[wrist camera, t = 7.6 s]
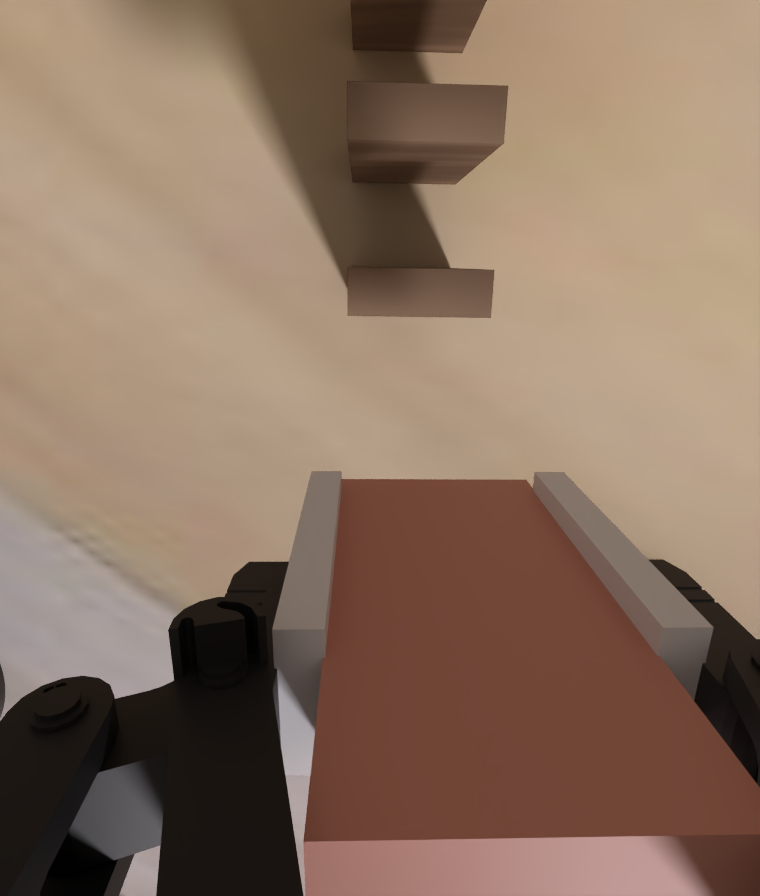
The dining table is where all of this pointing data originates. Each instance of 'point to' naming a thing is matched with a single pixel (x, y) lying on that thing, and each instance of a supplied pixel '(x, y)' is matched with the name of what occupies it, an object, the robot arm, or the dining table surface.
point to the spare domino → (505, 718)
